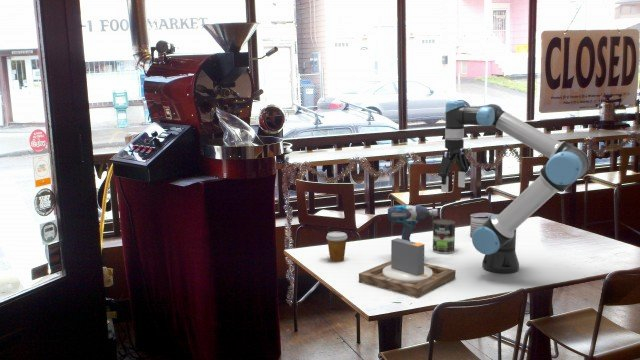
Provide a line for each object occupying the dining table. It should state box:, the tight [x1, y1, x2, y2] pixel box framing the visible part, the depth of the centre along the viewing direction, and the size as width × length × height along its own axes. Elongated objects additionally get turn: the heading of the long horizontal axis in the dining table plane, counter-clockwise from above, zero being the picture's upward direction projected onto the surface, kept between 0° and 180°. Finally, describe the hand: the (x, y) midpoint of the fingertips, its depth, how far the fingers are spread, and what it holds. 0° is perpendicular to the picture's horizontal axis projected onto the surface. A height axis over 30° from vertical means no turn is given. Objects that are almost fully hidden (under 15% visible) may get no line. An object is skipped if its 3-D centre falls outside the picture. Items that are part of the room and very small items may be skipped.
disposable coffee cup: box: [326, 231, 348, 263], centre depth 284 cm, size 10×10×12 cm
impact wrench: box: [387, 204, 440, 241], centre depth 282 cm, size 8×23×25 cm, turn 78°
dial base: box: [358, 260, 457, 298], centre depth 256 cm, size 28×28×4 cm
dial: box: [383, 237, 432, 284], centre depth 255 cm, size 20×20×14 cm
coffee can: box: [432, 218, 456, 255], centre depth 295 cm, size 10×10×14 cm
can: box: [469, 212, 492, 239], centre depth 318 cm, size 11×11×12 cm
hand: (453, 189), depth 262 cm, fingers open, 13 cm apart
